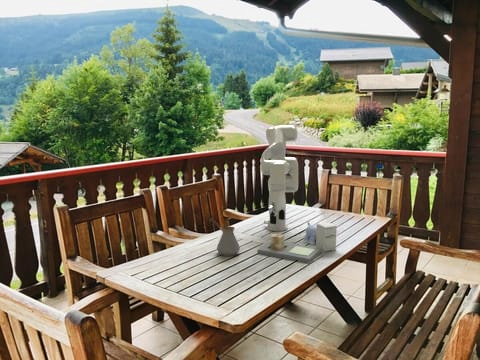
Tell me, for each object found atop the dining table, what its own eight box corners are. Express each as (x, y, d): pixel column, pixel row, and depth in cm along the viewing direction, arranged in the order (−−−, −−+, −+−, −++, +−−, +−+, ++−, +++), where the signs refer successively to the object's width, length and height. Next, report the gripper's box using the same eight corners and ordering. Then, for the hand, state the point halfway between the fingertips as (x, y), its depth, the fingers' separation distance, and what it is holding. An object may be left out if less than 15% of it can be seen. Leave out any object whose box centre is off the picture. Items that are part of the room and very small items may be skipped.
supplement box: (324, 251, 205) (324, 227, 203) (315, 247, 211) (316, 223, 209) (336, 249, 208) (337, 225, 206) (327, 245, 214) (328, 221, 212)
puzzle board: (257, 253, 204) (257, 248, 203) (271, 244, 217) (271, 240, 217) (309, 263, 190) (309, 258, 190) (321, 252, 204) (321, 248, 203)
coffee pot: (244, 254, 203) (244, 224, 200) (225, 259, 196) (224, 228, 194) (220, 243, 220) (220, 215, 217) (202, 247, 213) (201, 219, 211)
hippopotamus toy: (318, 247, 212) (318, 229, 210) (299, 239, 225) (299, 222, 223) (333, 243, 218) (334, 226, 216) (314, 236, 230) (314, 219, 229)
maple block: (270, 251, 206) (270, 236, 205) (274, 248, 210) (275, 233, 209) (279, 253, 203) (279, 237, 202) (283, 250, 208) (284, 235, 206)
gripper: (278, 184, 211) (278, 217, 213) (262, 189, 196) (262, 224, 198) (291, 185, 207) (291, 218, 209) (277, 190, 192) (276, 226, 195)
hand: (277, 221), depth 204 cm, fingers open, 9 cm apart
